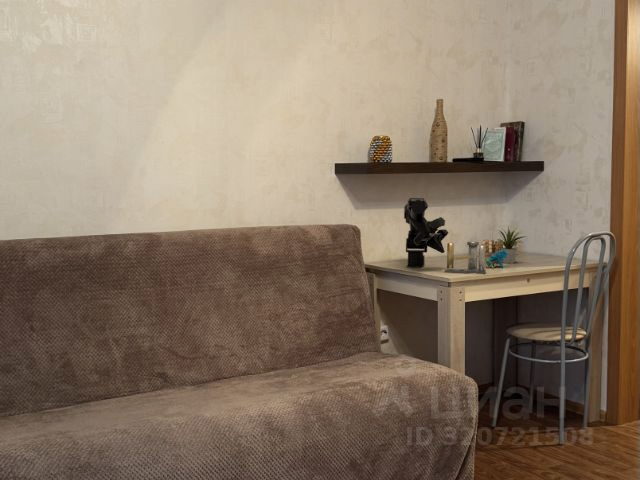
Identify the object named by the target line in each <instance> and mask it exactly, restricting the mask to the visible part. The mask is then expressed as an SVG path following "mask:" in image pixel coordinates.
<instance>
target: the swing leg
mask: <svg viewBox="0 0 640 480" xmlns="http://www.w3.org/2000/svg"><path fill="white" fill-rule="evenodd" d="M446 245H447V249H446V250H447V251H446V252H447V253H446V256H447V257H446V268H450V269H454V264H455V263H454V262H455V261H457V260H459V261H460V260H468V259H469V258H470V256H468V255H461V256H455V254H454V253H455V251H454V250H455V243H454V242H447V244H446Z"/></svg>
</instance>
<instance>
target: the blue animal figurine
mask: <svg viewBox="0 0 640 480" xmlns="http://www.w3.org/2000/svg"><path fill="white" fill-rule="evenodd" d="M498 252H499V253H498ZM507 254H508V253H507V252H506V250H504V251H502V250H501V249H500V250H499V251H495V252H494V255H493V254H491V255H490V256H489V258H485V265H486V266H488V267H491V268H492V269H495V267H494V266H495V264H496V265H499V266H500V268H502V269H503V268H504V267H505V266H504V265H503V260H504V259H503V258H506V257H507V256H506V255H507Z"/></svg>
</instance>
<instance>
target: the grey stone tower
mask: <svg viewBox="0 0 640 480" xmlns="http://www.w3.org/2000/svg"><path fill="white" fill-rule="evenodd" d="M466 245H467V246H468V255H467V256H470V258H469V259H467V261H468V263H467V269H478V271H485V270H486V269H485V267H486V260H485V259H486V245H480V242H479V241H467V243H466Z"/></svg>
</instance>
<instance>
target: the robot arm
mask: <svg viewBox="0 0 640 480" xmlns="http://www.w3.org/2000/svg"><path fill="white" fill-rule="evenodd" d="M428 208H429V205H428V203H427V200H425V198H424V197H409V198H408V200H407V202H406V204H405V206H404V207H403V210H404V211H403V219H404V220H405V223H406V224H408V225H409V230H408V234H407V237H406V238H405V253H407V265H406V267H407V268H409V267H410V268H423V267H424V266H425V264H426V263H425V261H426V259H425V258H426V257H425V255H424V253H428V247H429V248H431V249H433V250H434V251H437V252H438V253H441V254H444V253H445V248H444V246H443V242H442V241H443V240H444V239H445V238H446V237H447V236H448V234H449V231H448V230H447V229H446V228H442V229H439V228H441V227H444V226H445V225H446V219H444V218H443V217H442V216H439V217H438V218H437V217H436V218H435V219H432V220H428V219H426V217H425V214H426V211H427V209H428Z"/></svg>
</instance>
